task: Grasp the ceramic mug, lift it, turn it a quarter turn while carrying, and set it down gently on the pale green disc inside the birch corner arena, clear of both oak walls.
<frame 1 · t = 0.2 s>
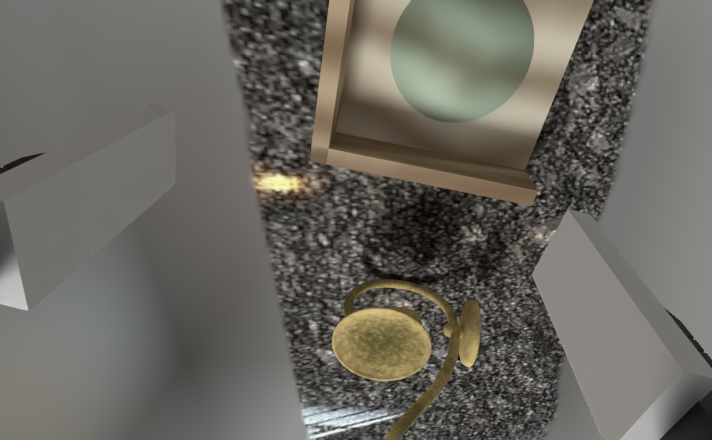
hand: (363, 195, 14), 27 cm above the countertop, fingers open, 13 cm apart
arena: (446, 56, 37), on the countertop
wall sconce: (404, 280, 50), on the countertop
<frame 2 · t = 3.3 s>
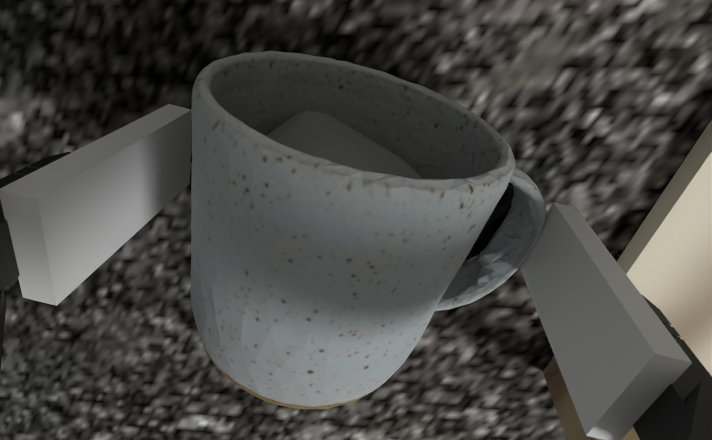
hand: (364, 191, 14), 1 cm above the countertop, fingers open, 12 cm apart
ceramic mug: (383, 179, 15), on the countertop, touching gripper
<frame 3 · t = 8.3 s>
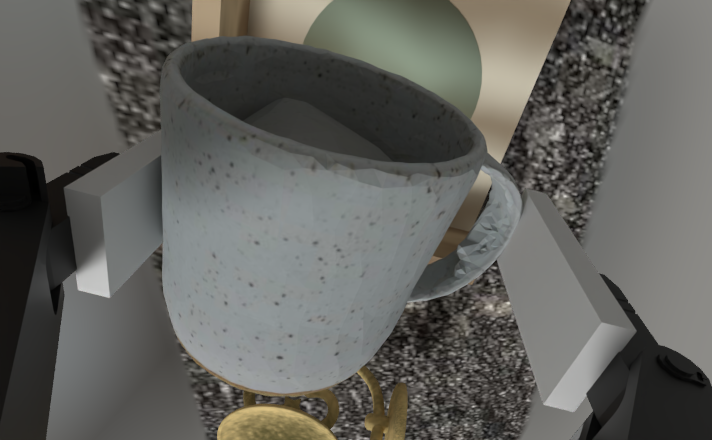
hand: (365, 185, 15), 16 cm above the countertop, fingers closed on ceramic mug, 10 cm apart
arena: (371, 86, 29), on the countertop
wall sconce: (330, 346, 41), on the countertop
ceramic mug: (362, 170, 15), point 15 cm above the countertop, touching gripper
when the fingers open (2 cm above the countertop, at t = 13.0 s): ceramic mug stays where it is, resting on arena.
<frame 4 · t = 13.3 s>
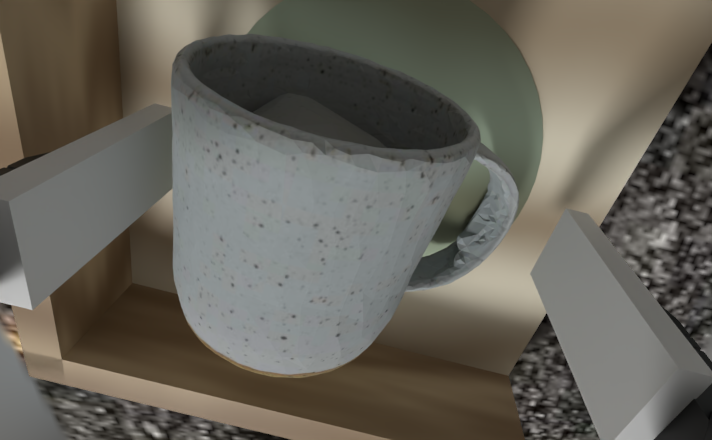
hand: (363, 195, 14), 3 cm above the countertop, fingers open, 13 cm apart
arena: (345, 157, 17), on the countertop
ceramic mug: (364, 163, 16), point 1 cm above the countertop, touching arena
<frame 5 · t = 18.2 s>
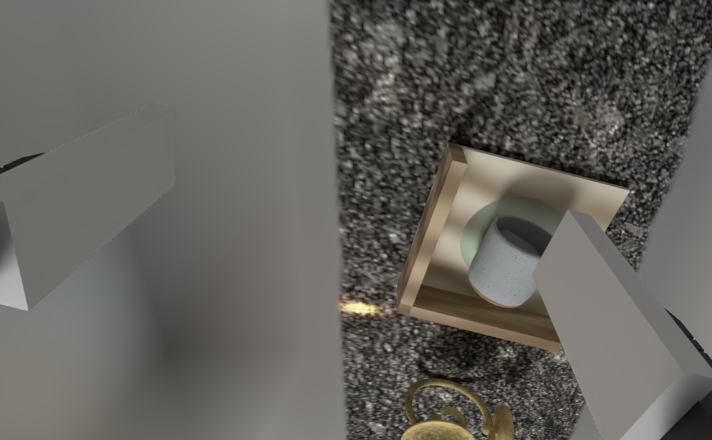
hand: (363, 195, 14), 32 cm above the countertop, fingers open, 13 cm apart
arena: (501, 240, 50), on the countertop
wall sconce: (448, 379, 63), on the countertop
ceramic mug: (515, 244, 50), point 1 cm above the countertop, touching arena
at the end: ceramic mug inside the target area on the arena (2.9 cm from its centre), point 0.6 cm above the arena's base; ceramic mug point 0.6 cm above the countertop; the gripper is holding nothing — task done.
